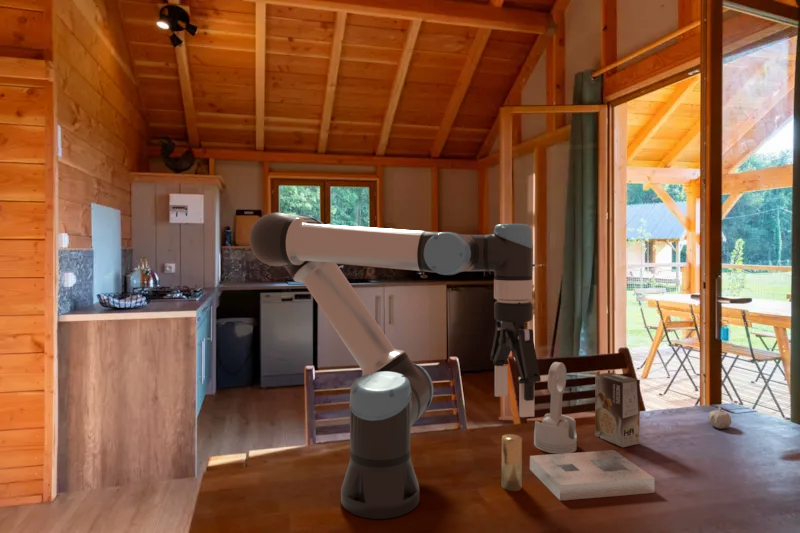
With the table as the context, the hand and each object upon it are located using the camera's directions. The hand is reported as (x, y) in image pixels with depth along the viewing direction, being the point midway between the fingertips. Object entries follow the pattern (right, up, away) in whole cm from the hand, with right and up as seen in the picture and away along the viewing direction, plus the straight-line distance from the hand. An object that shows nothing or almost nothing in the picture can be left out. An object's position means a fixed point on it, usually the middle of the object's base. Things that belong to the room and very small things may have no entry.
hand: (513, 405), depth 102 cm
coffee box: (+32, -16, +26) cm, 44 cm away
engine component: (+16, -16, +22) cm, 32 cm away
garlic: (+64, -16, +35) cm, 75 cm away
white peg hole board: (+17, -17, +3) cm, 24 cm away
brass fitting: (0, -17, +1) cm, 17 cm away
